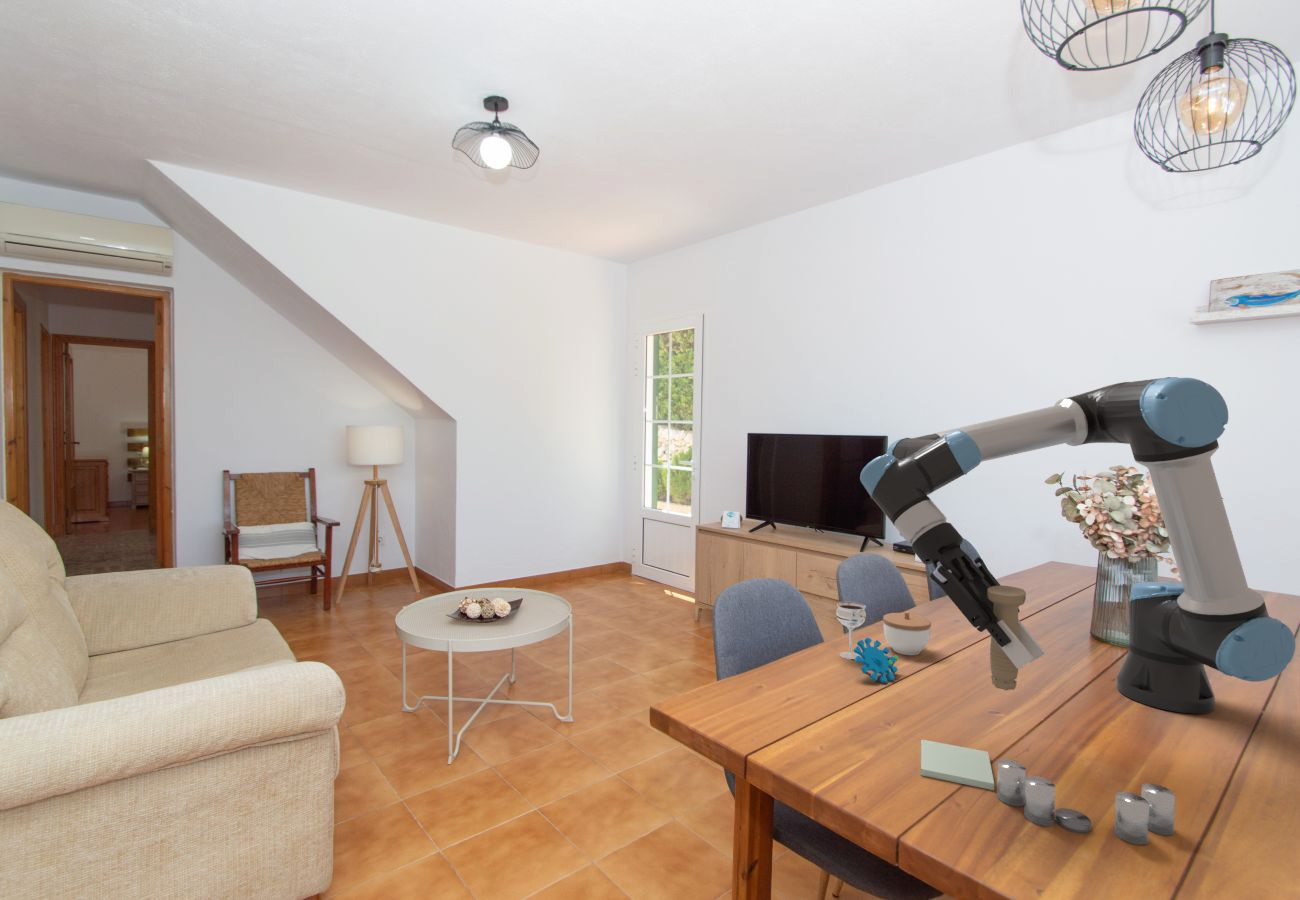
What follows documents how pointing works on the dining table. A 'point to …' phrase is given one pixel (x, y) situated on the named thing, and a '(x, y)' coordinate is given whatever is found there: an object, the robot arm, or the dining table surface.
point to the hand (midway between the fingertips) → (1032, 660)
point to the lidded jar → (906, 632)
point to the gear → (876, 660)
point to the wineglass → (850, 621)
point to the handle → (1007, 611)
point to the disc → (1072, 820)
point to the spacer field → (1130, 809)
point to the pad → (956, 764)
